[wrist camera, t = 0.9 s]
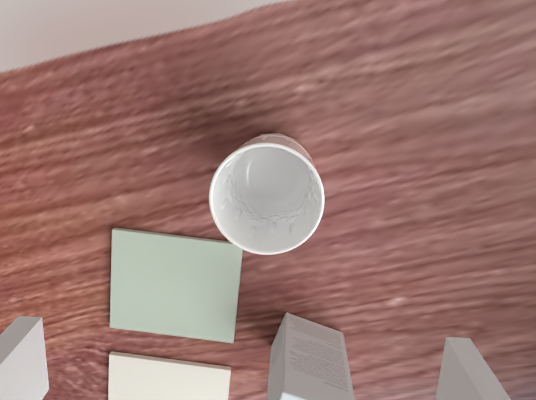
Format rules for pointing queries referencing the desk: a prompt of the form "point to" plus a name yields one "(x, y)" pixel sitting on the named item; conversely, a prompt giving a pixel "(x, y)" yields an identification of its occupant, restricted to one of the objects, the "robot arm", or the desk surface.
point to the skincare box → (308, 362)
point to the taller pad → (165, 379)
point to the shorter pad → (174, 284)
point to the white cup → (267, 195)
